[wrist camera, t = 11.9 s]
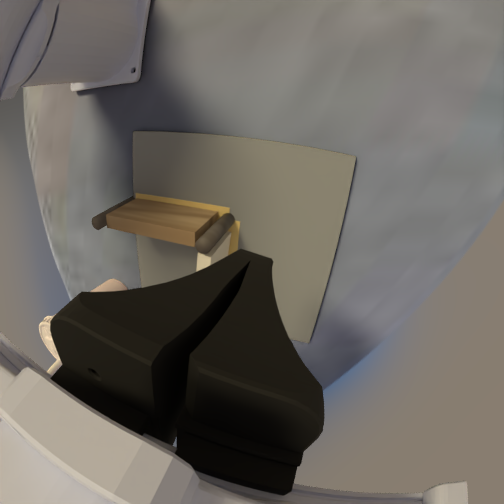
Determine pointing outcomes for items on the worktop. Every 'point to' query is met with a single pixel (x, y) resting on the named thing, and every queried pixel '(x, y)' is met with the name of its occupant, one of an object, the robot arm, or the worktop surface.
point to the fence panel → (214, 252)
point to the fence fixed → (167, 222)
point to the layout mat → (249, 209)
